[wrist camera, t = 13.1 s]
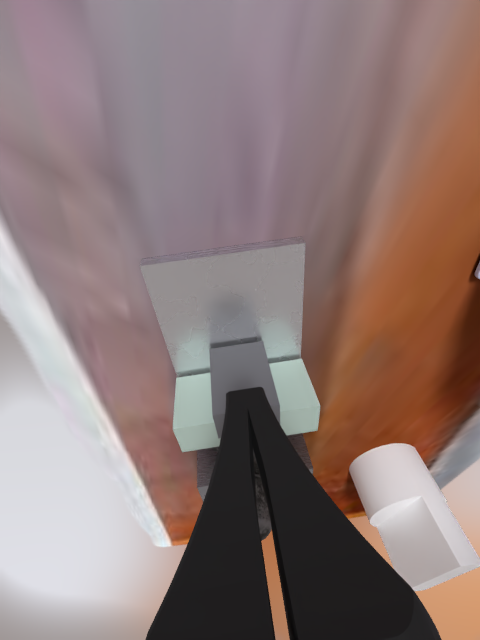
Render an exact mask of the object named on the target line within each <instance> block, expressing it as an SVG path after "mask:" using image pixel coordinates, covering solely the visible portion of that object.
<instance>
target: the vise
mask: <svg viewBox="0 0 480 640" xmlns="http://www.w3.org/2000/svg"><path fill="white" fill-rule="evenodd" d="M304 263H305V242H304V240H303V239H302V238H301V237H294V238H287V239H280V240H273V241H266V242H258V243H251V244H244V245H237V246H230V247H223V248H215V249H208V250H201V251H194V252H187V253H180V254H173V255H165V256H158V257H151V258H144V259H142V261H141V264H140V269H141V271H142V274H143V277H144V280H145V283H146V286H147V289H148V292H149V295H150V298H151V301H152V304H153V307H154V310H155V313H156V316H157V319H158V322H159V325H160V327H161V330H162V333H163V336H164V339H165V342H166V345H167V348H168V351H169V354H170V357H171V360H172V363H173V366H174V369H175V372H176V375H177V378H179V377H185V376H192V375H198V374H205V373H210V354H209V349H213V348H219V347H226V346H233V345H239V344H246V343H253V342H259V341H263V343H264V347H265V351H266V354H267V358H268V362H269V364H270V363H277V362H283V361H290V360H296V359H301V337H302V312H303V288H304ZM287 437H288V439H289V441H290V442H291V444H292V445H293V447H294V448H295V450H296V452H297V453H298V455H299V456H300V458H301V459H302V461H303V462H304V463H305V465H306V466H307V468H308V469H309V471H310V472H311V473H312V474H313V466H312V463H311V460H310V457H309V454H308V450H307V447H306V444H305V441H304V437H303V434H302V433H299V434H293V435H287ZM217 454H218V452H216V451H214V450H213V449H211V448H206V449H199V450H197V488H198V490H199V493H200V495H201V497H202V500H203V502H204V499H205V496H206V493H207V489H208V486H209V483H210V480H211V476H212V473H213V469H214V465H215V461H216V457H217Z"/></svg>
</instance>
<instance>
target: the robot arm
mask: <svg viewBox="0 0 480 640" xmlns="http://www.w3.org/2000/svg"><path fill="white" fill-rule="evenodd" d="M474 275H475V277H477V278H478V279H480V262H479V264H478V267H477V269H476V271H475V274H474ZM253 450H254V454H255V458H256V462H257V466H258V470H259V474H260V478H261V482H262V486H263V490H264V494H265V499H266V503H267V507H268V511H269V516H270V521H271V527H272V532H273V539H274V545H275V551H276V557H277V564H278V570H279V576H280V582H281V588H282V593H283V600H284V606H285V612H286V618H287V625H288V631H289V636H290V640H441V638H440V635H439V633H438V630H437V628H436V626H435V624H434V623H433V621H432V619H431V617H430V615H429V614H428V612H427V610H426V609H425V607H424V606H423V604H422V602H421V601H420V599H419V598H418V596H417V595H416V593H415V592H414V590H413V589H412V588H411V586H410V585H409V584H408V583H407V582H406V581H405V580H404V579H403V578H402V577H401V576H400V575H399V574H398V573H397V572H396V571H395V570H394V569H393V568H392V567H391V566H390V565H389V564H388V563H387V562H386V561H385V560H384V559H383V558H382V556H381V555H380V554H379V553H378V552H377V551H376V550H375V549H374V548H373V547H372V546H371V545H370V543H368V541H366V539H365V538H364V537H363V536H362V535H361V534H360V532H359V531H358V530H357V529H356V528H355V527H354V525H353V524H352V523H351V522H350V521H349V520H348V518H347V517H346V516H345V515H344V514H343V513H342V511H341V510H340V509H339V508H338V507H337V506H336V504H335V503H334V502H333V501H332V499H331V498H330V497H329V496H328V494H327V493H326V492H325V491H324V489H323V488H322V487H321V485H320V484H319V483H318V481H317V480H316V479H315V477H314V476H313V475H312V473H311V472H310V471H309V469H308V468H307V466H306V465H305V463H304V462H303V461H302V459H301V458H300V456H299V455H298V453H297V452H296V450H295V448H294V447H293V445H292V444H291V442H290V441H289V439H288V437H287V436H286V434H285V432H284V430H283V429H282V427H281V425H280V424H279V422H278V420H277V418H276V416H275V414H274V412H273V410H272V408H271V406H270V404H269V402H268V399H267V397H266V394H265V392H264V389H263V388H262V387H254V388H248V389H241V390H235V391H229V392H228V393H226V409H225V418H224V424H223V430H222V435H221V440H220V445H219V449H218V454H217V457H216V461H215V465H214V469H213V473H212V476H211V480H210V483H209V486H208V489H207V493H206V496H205V499H204V502H203V505H202V508H201V510H200V513H199V516H198V519H197V521H196V524H195V527H194V529H193V532H192V535H191V537H190V540H189V542H188V545H187V547H186V550H185V552H184V555H183V557H182V559H181V561H180V564H179V566H178V569H177V571H176V573H175V575H174V578H173V580H172V583H171V585H170V587H169V589H168V591H167V593H166V595H165V597H164V600H163V602H162V604H161V606H160V608H159V611H158V612H157V614H156V616H155V619H154V621H153V623H152V625H151V627H150V629H149V631H148V634H147V637H146V640H275V634H274V626H273V621H272V613H271V606H270V599H269V592H268V585H267V578H266V572H265V564H264V557H263V550H262V543H261V536H260V529H259V522H258V513H257V500H256V486H255V471H254V457H253Z"/></svg>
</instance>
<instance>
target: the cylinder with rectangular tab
mask: <svg viewBox="0 0 480 640" xmlns="http://www.w3.org/2000/svg"><path fill="white" fill-rule="evenodd" d="M349 471H350V474H351V477H352V479H353V482H354V484H355V487H356V489H357V492H358V494H359V497H360V499H361V502H362V504H363V507H364V509H365V512H366V514H367V517H368V519H369V522H370V524H371V525H373V526H376V527H377V529H378V531H379V533H380V536H381V538H382V541H383V543H384V546H385V548H386V550H387V553H388V555H389V558H390V560H391V563H392V565H393V567H394V570H395V571H396V572H397V573H398V574H399V575H400V576H401V577H402V578H403V579H404V580H405V581H406V582H407V583H408V584H409V585H410V586H411V588H412V589H413V590H414V591H420V590H426V589H428V588H430V587H432V586H435V585H437V584H440V583H442V582H444V581H447V580H449V579H451V578H454V577H456V576H459V575H461V574H463V573H466V572H468V571H470V570H473V569H475V568H478V567H480V558H479V556H478V555H477V553H476V551H475V550H474V548H473V546H472V545H471V543H470V542H469V540H468V538H467V537H466V535H465V533H464V532H463V530H462V528H461V527H460V525H459V523H458V522H457V520H456V518H455V517H454V515H453V513H452V512H451V510H450V508H449V507H448V505H447V500H446V498H445V496H444V495H443V493H442V492H441V490H440V488H439V487H438V485H437V483H436V482H435V480H434V478H433V477H432V475H431V474H430V472H429V470H428V469H427V467H426V465H425V464H424V462H423V460H422V459H421V457H420V456H419V454H418V452H417V451H416V449H415V447H413V446H411V445H408V444H389V445H384V446H380V447H377V448H374V449H372V450H369V451H367V452H365V453H364V454H362V455H360V456H359V457H358V458H356V459H355V460H354V461H353V462H352V464H351V465H350V468H349Z"/></svg>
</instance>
